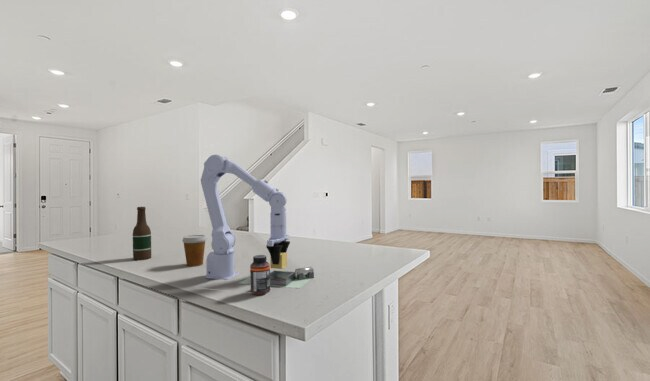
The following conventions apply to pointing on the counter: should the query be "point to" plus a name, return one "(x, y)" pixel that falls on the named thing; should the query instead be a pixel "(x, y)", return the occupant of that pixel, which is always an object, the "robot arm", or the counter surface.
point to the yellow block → (280, 261)
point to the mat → (293, 284)
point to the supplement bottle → (260, 275)
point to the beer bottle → (141, 237)
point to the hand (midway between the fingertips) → (278, 262)
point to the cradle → (282, 278)
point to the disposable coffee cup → (194, 249)
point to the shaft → (304, 273)
